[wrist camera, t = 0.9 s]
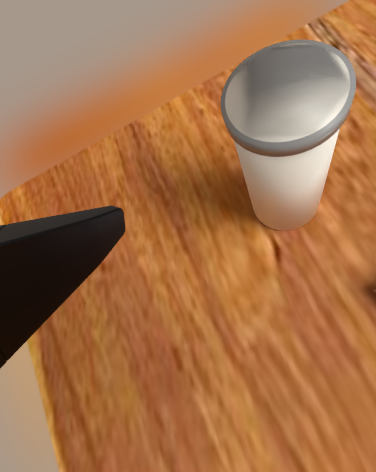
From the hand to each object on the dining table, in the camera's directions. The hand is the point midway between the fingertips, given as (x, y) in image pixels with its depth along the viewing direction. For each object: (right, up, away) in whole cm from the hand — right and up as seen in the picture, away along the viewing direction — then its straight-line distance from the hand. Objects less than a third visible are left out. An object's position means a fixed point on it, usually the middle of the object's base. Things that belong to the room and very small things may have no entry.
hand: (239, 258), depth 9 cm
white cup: (+6, +4, +15) cm, 16 cm away
